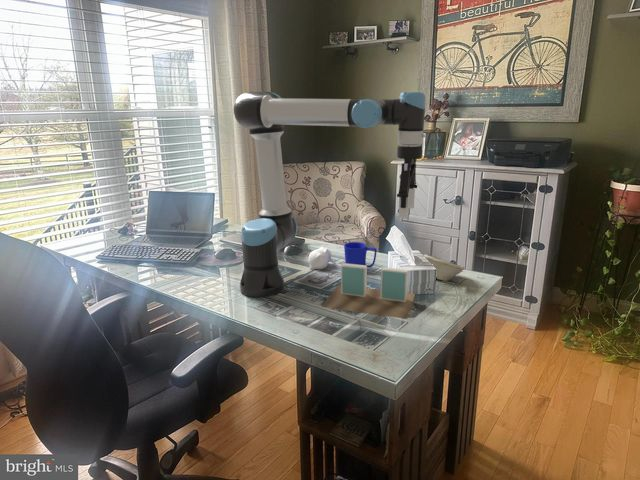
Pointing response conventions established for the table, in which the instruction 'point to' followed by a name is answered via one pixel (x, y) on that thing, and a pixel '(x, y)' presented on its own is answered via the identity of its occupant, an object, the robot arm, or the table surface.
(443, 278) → the bowl
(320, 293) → the table surface
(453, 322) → the table surface
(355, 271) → the tile
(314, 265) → the crumpled paper ball
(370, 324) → the table surface
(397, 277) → the tile
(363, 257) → the mug
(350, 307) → the board
